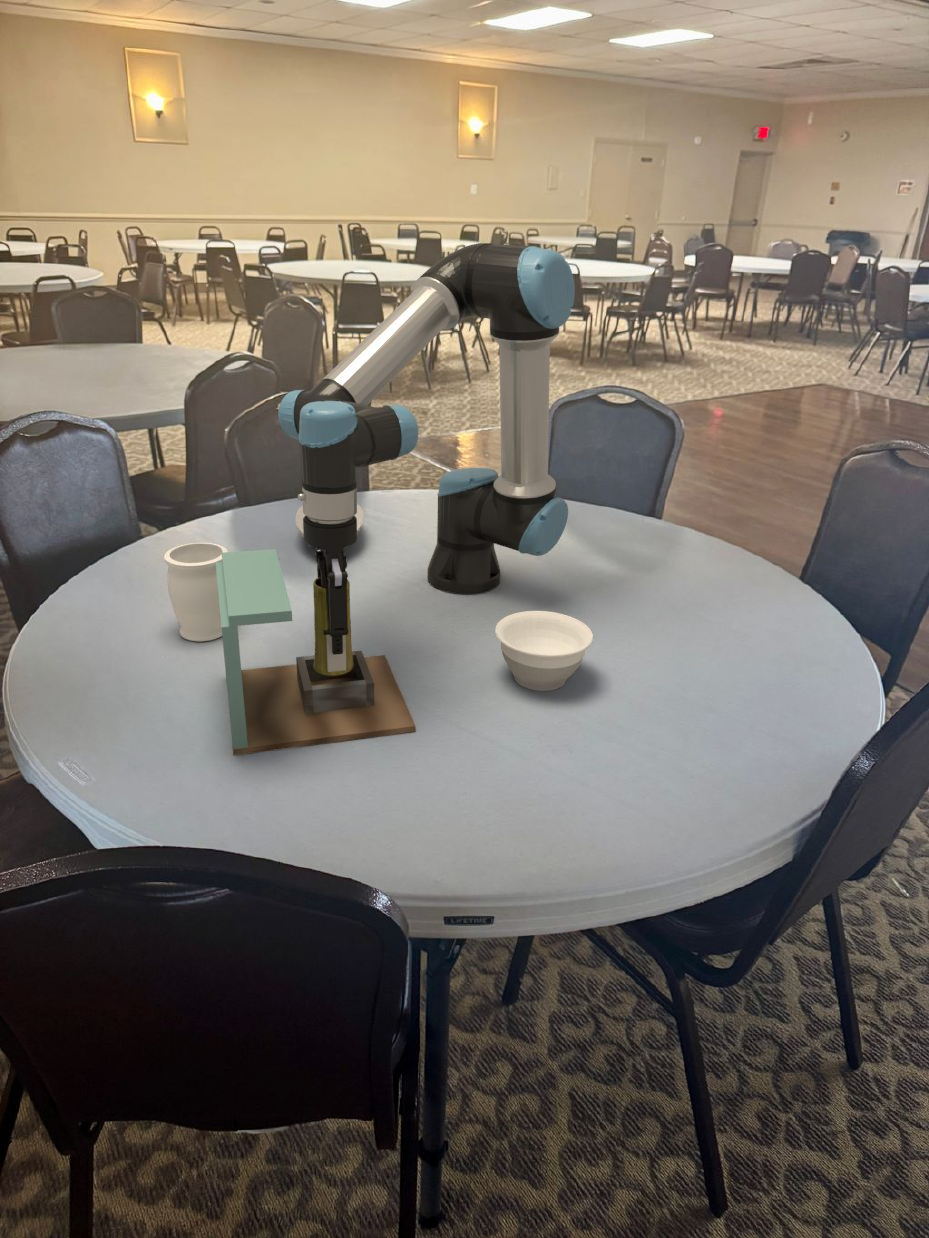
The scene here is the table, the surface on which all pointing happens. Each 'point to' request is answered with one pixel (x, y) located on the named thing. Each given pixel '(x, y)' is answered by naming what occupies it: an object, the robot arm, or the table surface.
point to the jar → (195, 589)
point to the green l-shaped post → (247, 616)
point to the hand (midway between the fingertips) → (333, 659)
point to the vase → (322, 624)
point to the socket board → (321, 704)
